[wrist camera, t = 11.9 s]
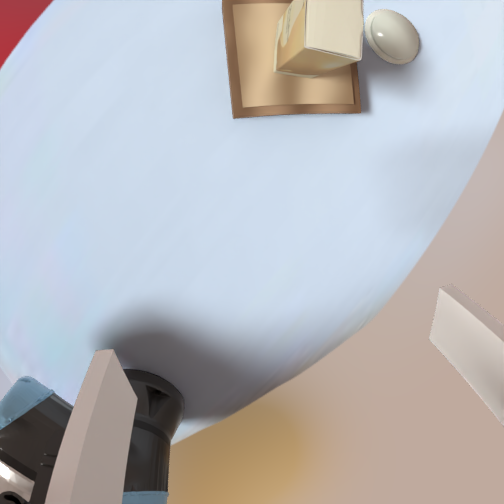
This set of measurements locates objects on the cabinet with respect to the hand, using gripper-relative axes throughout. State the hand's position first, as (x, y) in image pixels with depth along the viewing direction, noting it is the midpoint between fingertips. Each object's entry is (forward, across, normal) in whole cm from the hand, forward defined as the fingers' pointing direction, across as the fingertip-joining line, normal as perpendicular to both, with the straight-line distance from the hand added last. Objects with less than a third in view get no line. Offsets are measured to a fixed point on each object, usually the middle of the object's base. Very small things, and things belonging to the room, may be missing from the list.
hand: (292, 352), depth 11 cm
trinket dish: (+26, +22, +20) cm, 39 cm away
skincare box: (+23, +8, +16) cm, 29 cm away
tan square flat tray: (+26, +8, +16) cm, 32 cm away
